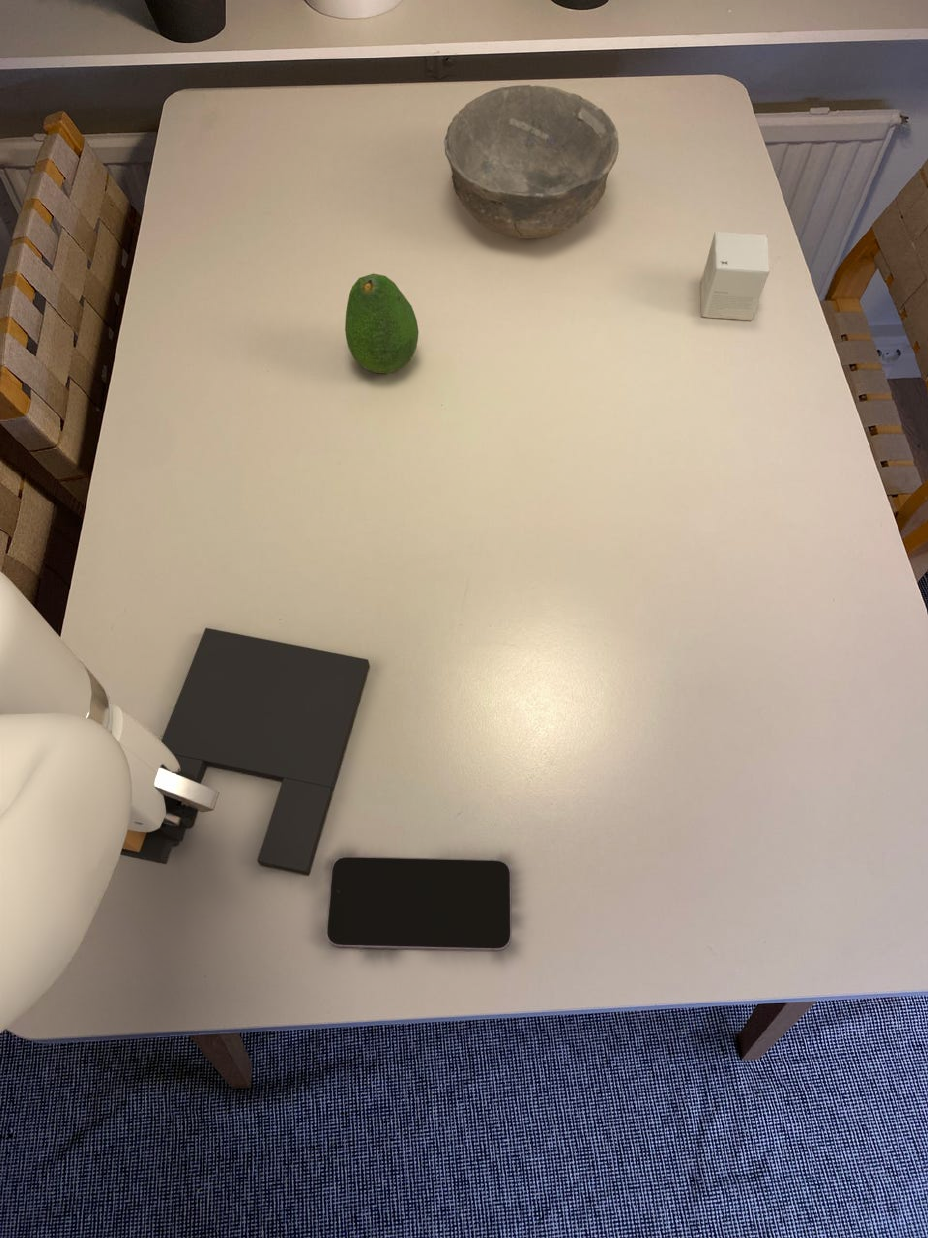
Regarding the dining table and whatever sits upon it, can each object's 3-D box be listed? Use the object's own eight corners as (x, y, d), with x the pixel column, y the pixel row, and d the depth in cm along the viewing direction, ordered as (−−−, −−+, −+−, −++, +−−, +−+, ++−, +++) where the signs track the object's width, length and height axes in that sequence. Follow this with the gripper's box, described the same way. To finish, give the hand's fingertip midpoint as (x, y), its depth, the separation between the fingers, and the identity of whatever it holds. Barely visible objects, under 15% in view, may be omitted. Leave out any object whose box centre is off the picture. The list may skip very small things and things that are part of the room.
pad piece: (166, 865, 65) (147, 849, 61) (81, 846, 66) (56, 830, 62) (197, 779, 68) (180, 759, 64) (115, 762, 69) (93, 741, 65)
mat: (309, 876, 78) (306, 872, 76) (130, 836, 79) (125, 831, 78) (370, 666, 87) (368, 659, 85) (209, 634, 88) (205, 627, 87)
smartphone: (511, 950, 74) (324, 946, 74) (510, 952, 75) (326, 948, 75) (510, 859, 77) (332, 855, 77) (509, 862, 78) (333, 858, 78)
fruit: (425, 386, 103) (420, 304, 92) (354, 395, 102) (341, 313, 92) (415, 334, 107) (410, 249, 96) (347, 342, 106) (334, 257, 95)
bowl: (441, 160, 121) (440, 86, 112) (596, 154, 122) (607, 79, 113) (450, 270, 112) (448, 198, 103) (618, 263, 112) (631, 191, 103)
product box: (752, 322, 107) (770, 272, 101) (699, 318, 108) (714, 267, 101) (750, 285, 110) (768, 234, 104) (699, 281, 111) (714, 229, 104)
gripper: (-144, 751, 50) (4, 837, 65) (160, 815, 48) (236, 887, 64) (-78, 630, 53) (47, 739, 69) (207, 685, 51) (268, 784, 67)
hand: (137, 810), depth 66 cm, fingers closed on pad piece, 6 cm apart
